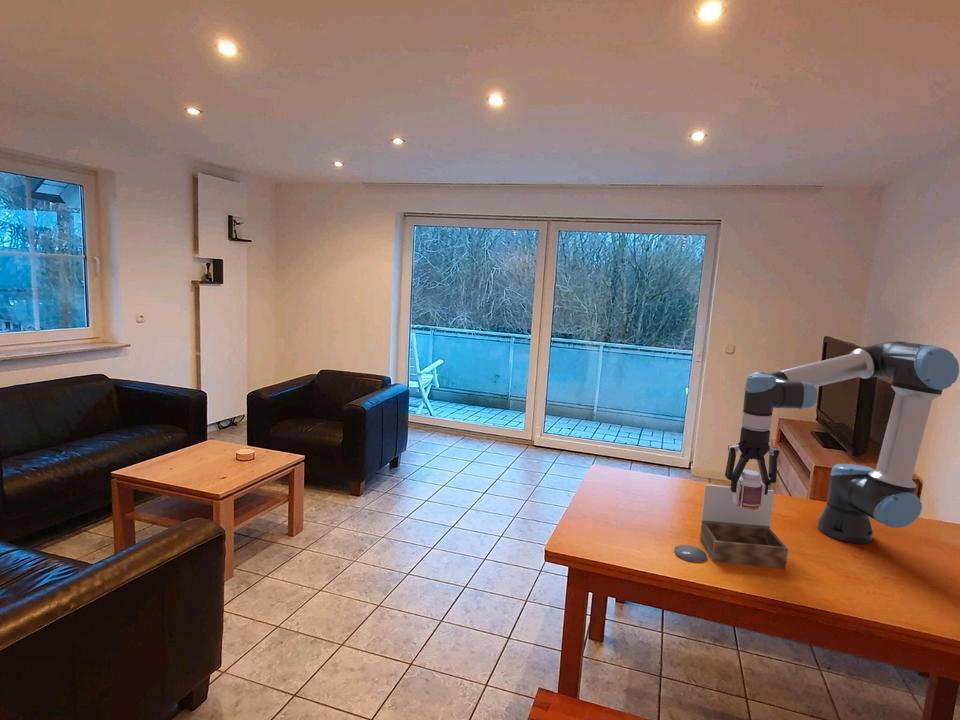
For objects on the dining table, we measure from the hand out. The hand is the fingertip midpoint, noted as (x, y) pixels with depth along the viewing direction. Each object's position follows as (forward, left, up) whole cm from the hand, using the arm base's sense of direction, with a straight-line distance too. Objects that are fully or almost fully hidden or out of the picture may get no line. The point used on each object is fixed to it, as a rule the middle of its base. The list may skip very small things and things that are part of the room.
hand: (747, 503), depth 158 cm
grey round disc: (+16, +4, -16) cm, 23 cm away
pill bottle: (0, 0, -2) cm, 2 cm away
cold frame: (0, -2, -16) cm, 16 cm away
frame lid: (0, -7, -10) cm, 12 cm away
